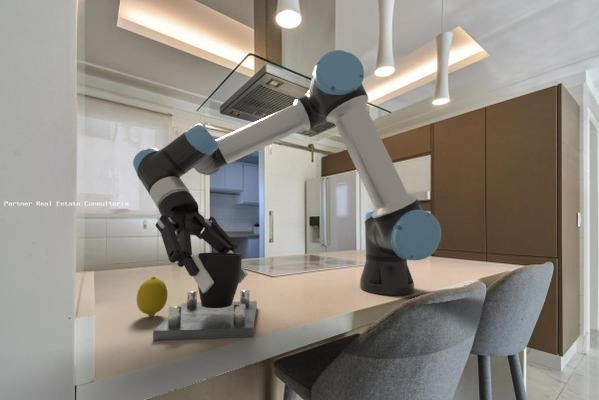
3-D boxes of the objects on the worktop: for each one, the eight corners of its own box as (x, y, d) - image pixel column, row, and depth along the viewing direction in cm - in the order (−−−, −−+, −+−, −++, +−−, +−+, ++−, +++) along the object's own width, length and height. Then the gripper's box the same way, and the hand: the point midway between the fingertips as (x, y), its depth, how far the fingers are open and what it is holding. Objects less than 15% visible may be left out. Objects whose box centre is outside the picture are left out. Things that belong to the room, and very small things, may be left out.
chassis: (256, 307, 63) (257, 287, 63) (252, 336, 47) (253, 309, 47) (183, 309, 61) (183, 288, 61) (152, 340, 45) (154, 311, 46)
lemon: (161, 310, 61) (162, 273, 61) (170, 316, 57) (172, 276, 57) (132, 316, 57) (134, 276, 57) (140, 323, 53) (142, 280, 53)
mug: (230, 295, 62) (233, 251, 63) (243, 308, 51) (246, 255, 52) (190, 297, 58) (194, 251, 60) (195, 311, 48) (200, 255, 49)
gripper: (203, 215, 72) (251, 285, 63) (117, 212, 54) (167, 310, 45) (219, 194, 70) (270, 263, 61) (135, 183, 52) (191, 280, 43)
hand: (227, 283), depth 53 cm, fingers closed on mug, 8 cm apart
